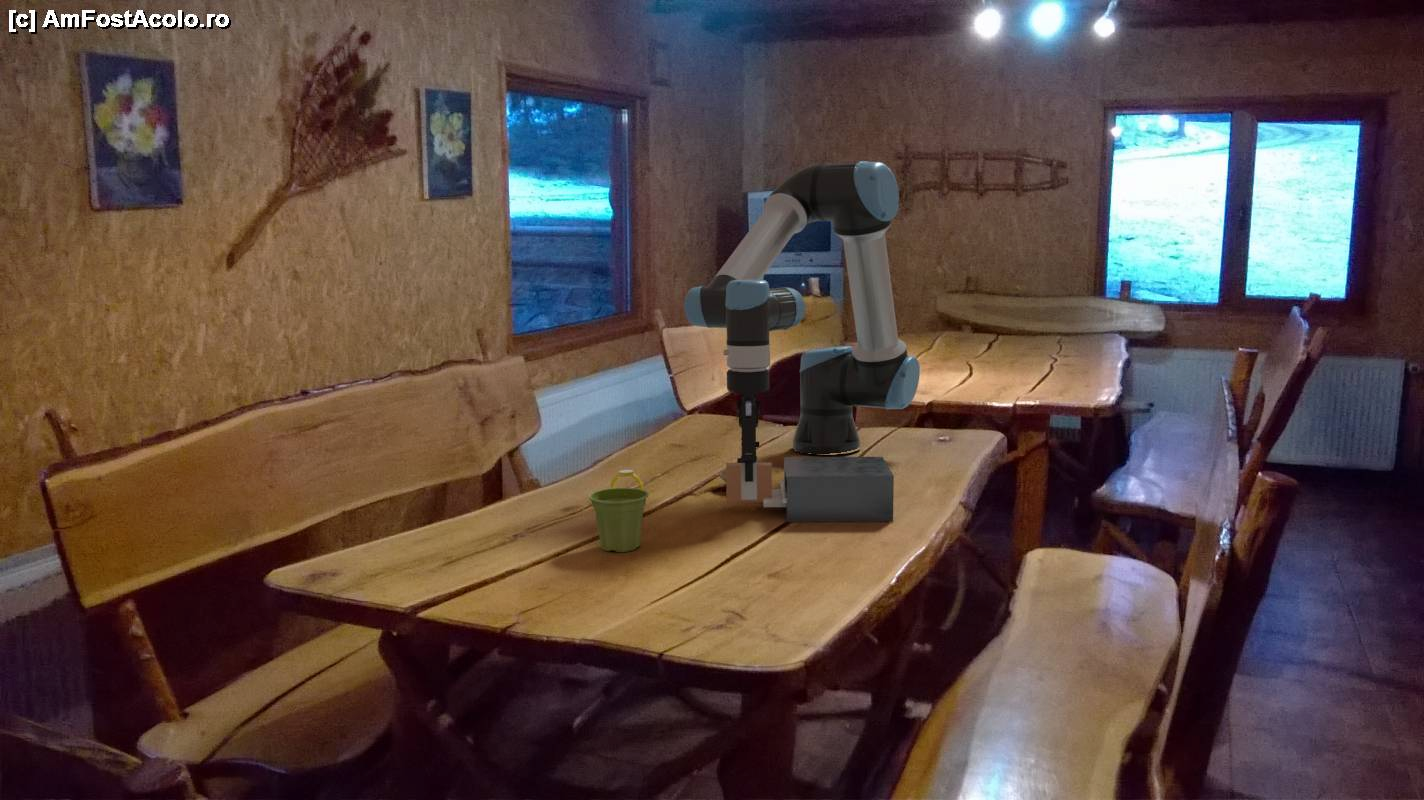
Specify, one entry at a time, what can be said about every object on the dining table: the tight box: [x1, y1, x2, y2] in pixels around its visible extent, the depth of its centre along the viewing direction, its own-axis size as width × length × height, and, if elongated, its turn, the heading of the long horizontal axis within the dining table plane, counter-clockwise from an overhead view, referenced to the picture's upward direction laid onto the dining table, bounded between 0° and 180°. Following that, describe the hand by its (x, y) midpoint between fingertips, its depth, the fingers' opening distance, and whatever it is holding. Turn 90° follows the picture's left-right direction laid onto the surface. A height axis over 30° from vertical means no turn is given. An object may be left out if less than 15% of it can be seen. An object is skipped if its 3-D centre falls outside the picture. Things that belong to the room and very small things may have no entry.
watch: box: [610, 469, 644, 490], centre depth 208 cm, size 6×3×6 cm, turn 76°
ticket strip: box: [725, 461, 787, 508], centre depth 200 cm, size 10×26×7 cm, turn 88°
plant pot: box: [588, 487, 649, 553], centre depth 178 cm, size 9×9×9 cm
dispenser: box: [779, 456, 895, 523], centre depth 200 cm, size 16×19×8 cm
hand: (749, 491), depth 200 cm, fingers open, 11 cm apart
